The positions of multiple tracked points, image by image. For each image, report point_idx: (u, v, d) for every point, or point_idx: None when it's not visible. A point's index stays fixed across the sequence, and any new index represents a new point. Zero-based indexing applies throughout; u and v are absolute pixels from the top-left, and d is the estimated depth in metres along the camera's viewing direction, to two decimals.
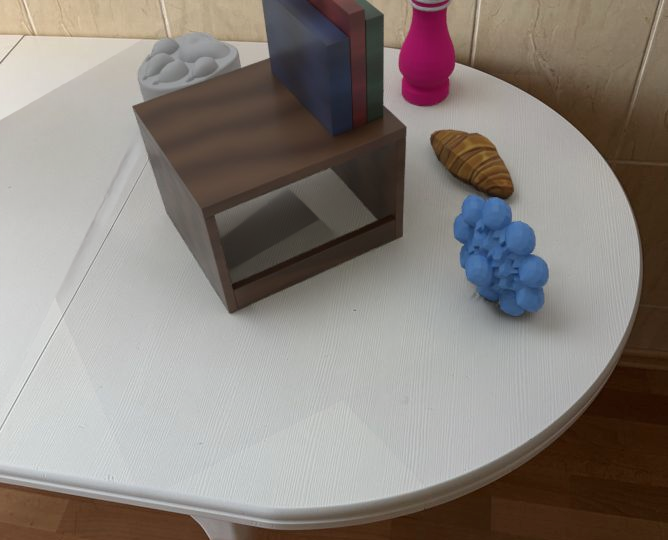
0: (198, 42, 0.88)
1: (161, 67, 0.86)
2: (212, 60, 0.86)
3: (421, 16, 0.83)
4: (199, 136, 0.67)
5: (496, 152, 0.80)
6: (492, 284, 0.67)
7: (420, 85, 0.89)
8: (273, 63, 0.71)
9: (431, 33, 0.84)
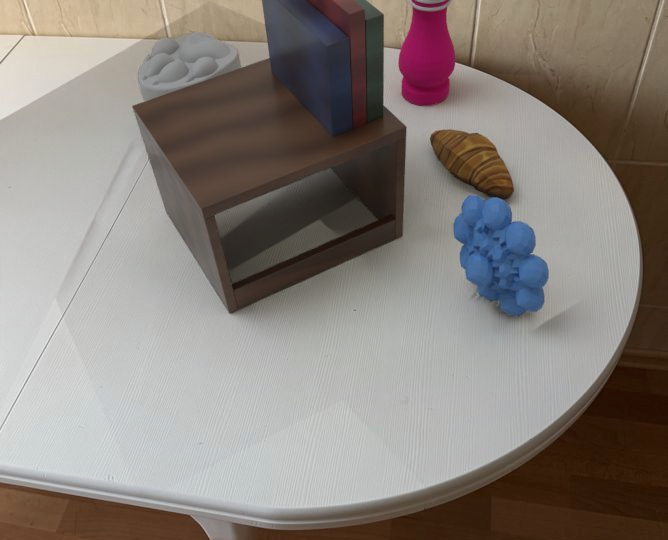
0: (198, 42, 0.88)
1: (161, 67, 0.86)
2: (212, 60, 0.86)
3: (421, 16, 0.83)
4: (199, 136, 0.67)
5: (496, 152, 0.80)
6: (492, 284, 0.67)
7: (420, 85, 0.89)
8: (273, 63, 0.71)
9: (431, 33, 0.84)
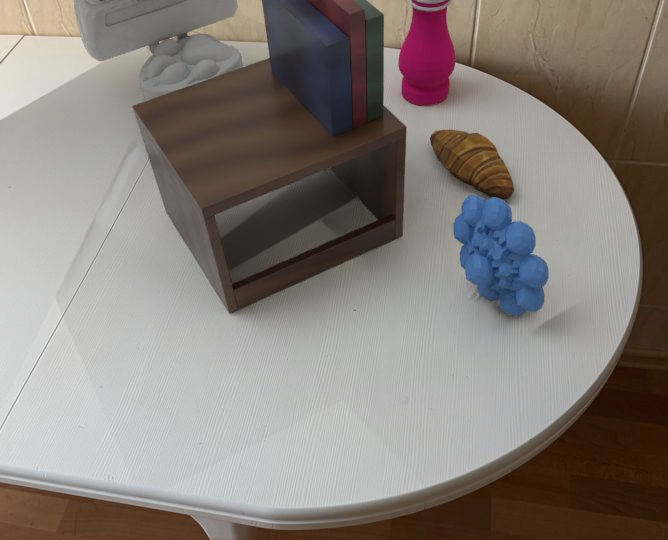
0: (201, 44, 0.88)
1: (162, 69, 0.86)
2: (213, 63, 0.85)
3: (421, 16, 0.83)
4: (199, 136, 0.67)
5: (496, 152, 0.80)
6: (492, 284, 0.67)
7: (420, 85, 0.89)
8: (273, 63, 0.71)
9: (431, 33, 0.84)
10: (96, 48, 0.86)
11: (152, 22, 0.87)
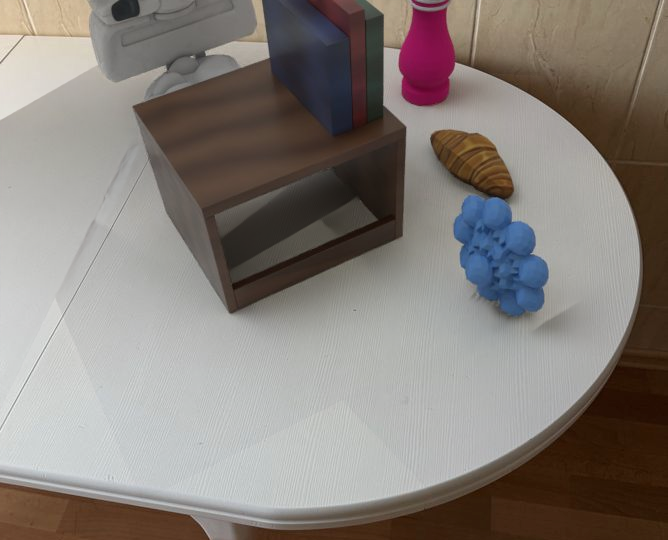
0: (215, 67, 0.84)
1: (170, 87, 0.83)
2: None
3: (421, 16, 0.83)
4: (199, 136, 0.67)
5: (496, 152, 0.80)
6: (492, 284, 0.67)
7: (420, 85, 0.89)
8: (273, 63, 0.71)
9: (431, 33, 0.84)
10: (112, 69, 0.82)
11: (170, 41, 0.84)
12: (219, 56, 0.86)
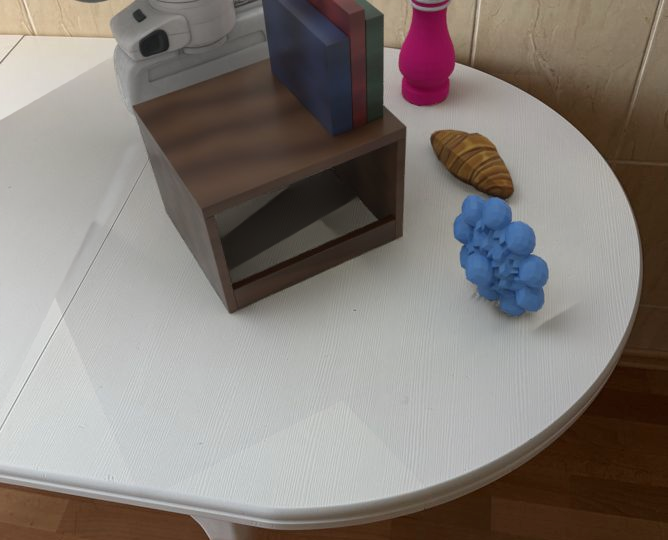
0: None
1: None
2: None
3: (421, 16, 0.83)
4: (199, 136, 0.67)
5: (496, 152, 0.80)
6: (492, 284, 0.67)
7: (420, 85, 0.89)
8: (273, 63, 0.71)
9: (431, 33, 0.84)
10: None
11: (198, 76, 0.79)
12: None
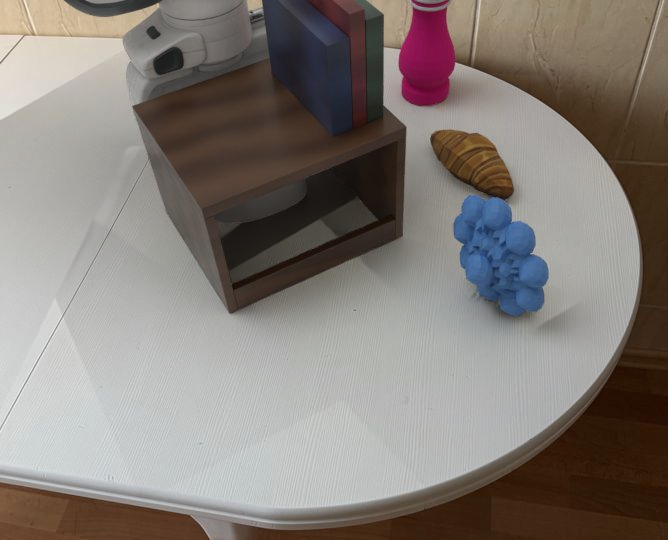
0: None
1: None
2: None
3: (421, 16, 0.83)
4: (199, 136, 0.67)
5: (496, 152, 0.80)
6: (492, 284, 0.67)
7: (420, 85, 0.89)
8: (273, 63, 0.71)
9: (431, 33, 0.84)
10: None
11: None
12: None
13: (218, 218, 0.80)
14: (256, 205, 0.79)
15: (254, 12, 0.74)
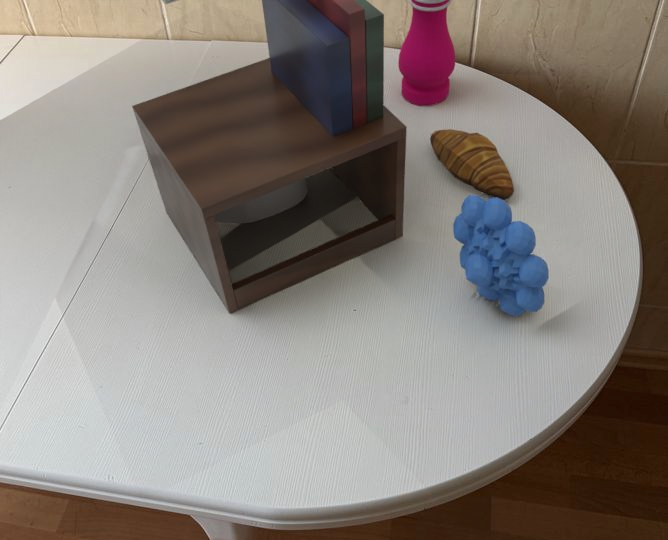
0: None
1: None
2: None
3: (421, 16, 0.83)
4: (199, 136, 0.67)
5: (496, 152, 0.80)
6: (492, 284, 0.67)
7: (420, 85, 0.89)
8: (273, 63, 0.71)
9: (431, 33, 0.84)
10: None
11: None
12: None
13: (218, 219, 0.80)
14: (256, 206, 0.78)
15: None
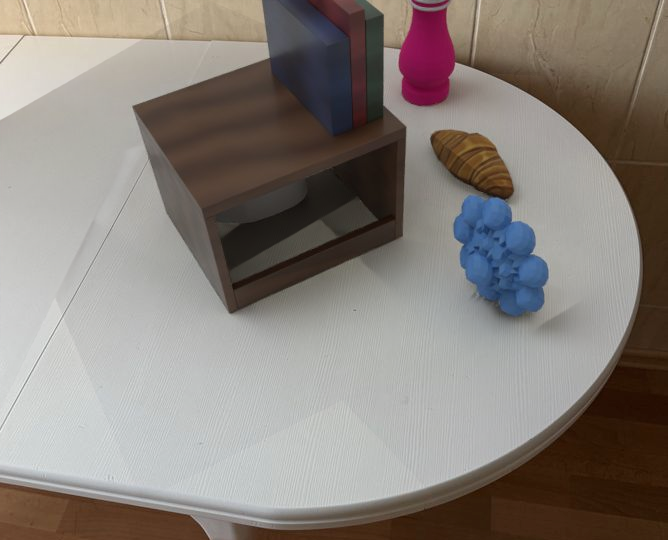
0: None
1: None
2: None
3: (421, 16, 0.83)
4: (199, 136, 0.67)
5: (496, 152, 0.80)
6: (492, 284, 0.67)
7: (420, 85, 0.89)
8: (273, 63, 0.71)
9: (431, 33, 0.84)
10: None
11: None
12: None
13: (218, 219, 0.80)
14: (256, 206, 0.78)
15: None
